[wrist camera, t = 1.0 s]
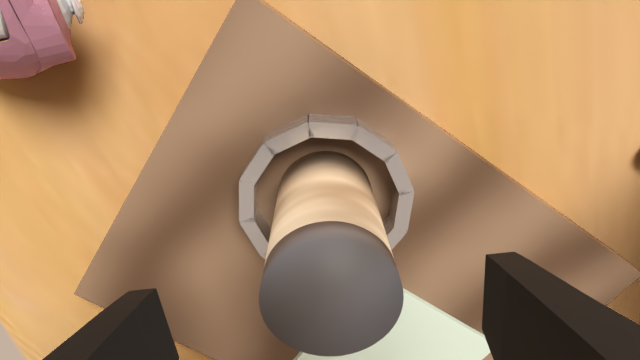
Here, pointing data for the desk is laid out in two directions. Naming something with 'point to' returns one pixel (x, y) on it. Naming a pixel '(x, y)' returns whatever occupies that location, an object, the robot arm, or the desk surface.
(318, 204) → the beech pin
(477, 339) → the sage pad
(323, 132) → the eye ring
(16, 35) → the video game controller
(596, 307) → the robot arm
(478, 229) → the walnut board
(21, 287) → the desk surface
